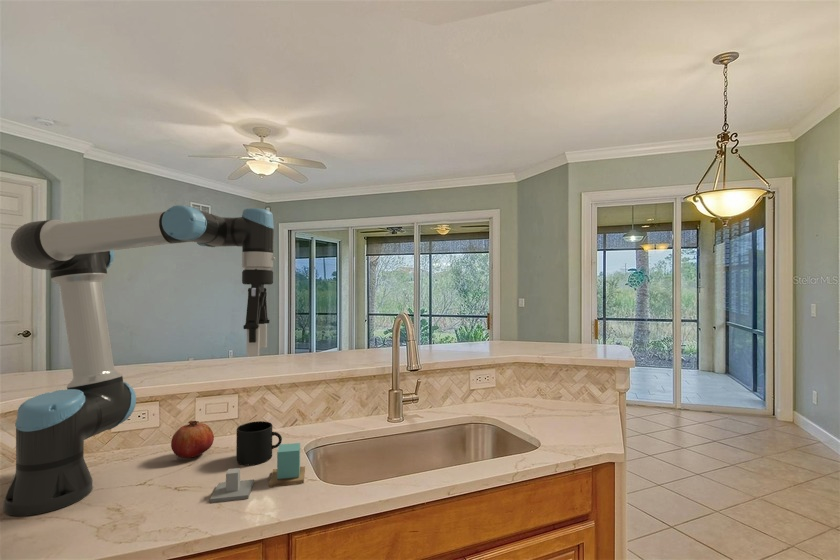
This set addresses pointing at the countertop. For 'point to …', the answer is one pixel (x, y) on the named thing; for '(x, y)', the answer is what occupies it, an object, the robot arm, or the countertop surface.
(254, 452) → the mug
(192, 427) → the fruit
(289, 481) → the brown base with post
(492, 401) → the countertop surface
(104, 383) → the robot arm
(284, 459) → the teal rectangular block
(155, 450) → the countertop surface
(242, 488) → the grey post
